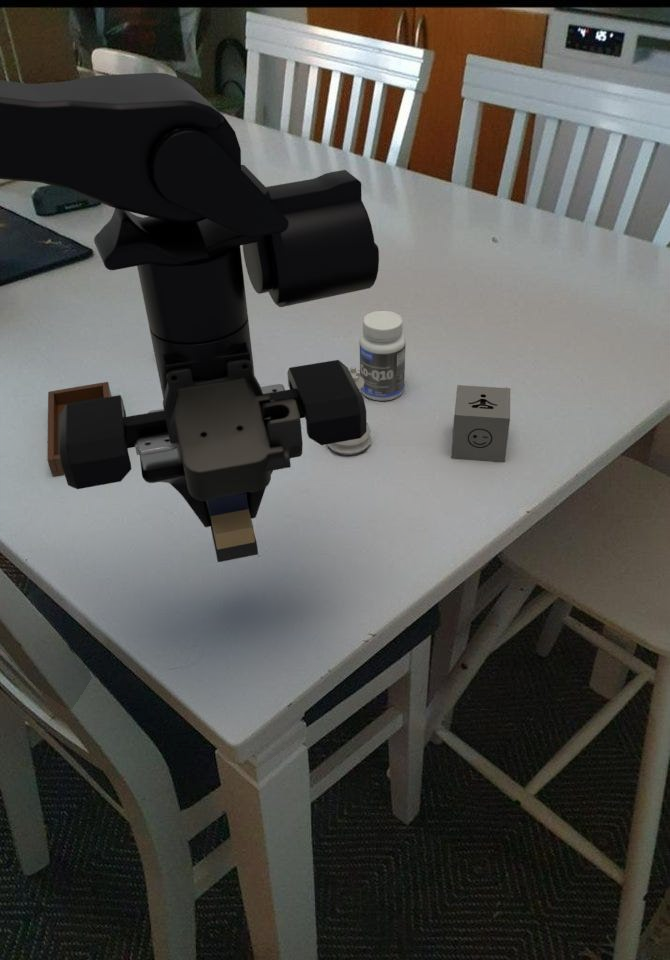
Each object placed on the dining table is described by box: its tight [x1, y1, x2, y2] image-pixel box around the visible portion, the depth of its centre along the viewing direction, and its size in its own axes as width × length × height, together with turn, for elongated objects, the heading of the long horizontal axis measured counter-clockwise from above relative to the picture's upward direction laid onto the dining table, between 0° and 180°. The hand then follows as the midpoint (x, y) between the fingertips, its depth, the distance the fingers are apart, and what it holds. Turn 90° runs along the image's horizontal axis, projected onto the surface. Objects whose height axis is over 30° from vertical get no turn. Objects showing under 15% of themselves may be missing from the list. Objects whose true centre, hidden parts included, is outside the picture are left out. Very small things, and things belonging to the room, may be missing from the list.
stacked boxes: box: [206, 492, 259, 563], centre depth 56 cm, size 6×3×4 cm, turn 14°
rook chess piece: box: [326, 366, 372, 456], centre depth 77 cm, size 4×4×8 cm
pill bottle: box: [358, 310, 407, 402], centre depth 84 cm, size 5×5×8 cm
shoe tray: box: [46, 381, 113, 477], centre depth 81 cm, size 6×12×2 cm, turn 15°
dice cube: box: [450, 384, 511, 463], centre depth 77 cm, size 5×5×5 cm
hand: (229, 518), depth 57 cm, fingers closed on stacked boxes, 3 cm apart
